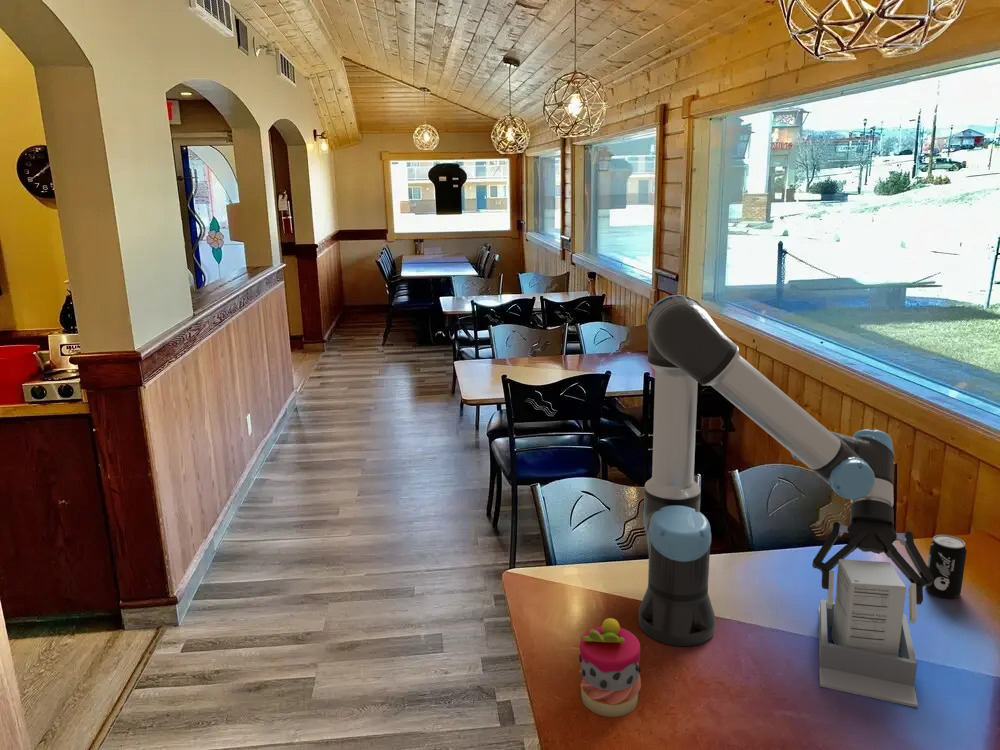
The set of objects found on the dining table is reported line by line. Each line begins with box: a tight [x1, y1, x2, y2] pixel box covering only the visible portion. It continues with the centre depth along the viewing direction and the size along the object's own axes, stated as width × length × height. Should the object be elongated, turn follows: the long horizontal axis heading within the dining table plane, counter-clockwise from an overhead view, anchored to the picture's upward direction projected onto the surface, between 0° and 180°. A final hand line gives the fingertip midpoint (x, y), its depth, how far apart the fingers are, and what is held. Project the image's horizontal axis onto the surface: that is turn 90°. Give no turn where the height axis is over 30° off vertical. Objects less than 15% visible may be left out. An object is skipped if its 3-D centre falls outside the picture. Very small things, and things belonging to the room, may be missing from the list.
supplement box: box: [831, 558, 907, 657], centre depth 131 cm, size 10×9×17 cm
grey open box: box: [817, 599, 919, 709], centre depth 133 cm, size 15×26×5 cm, turn 157°
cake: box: [578, 617, 642, 718], centre depth 122 cm, size 10×11×15 cm
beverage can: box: [925, 534, 968, 599], centre depth 151 cm, size 7×7×12 cm
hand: (870, 614), depth 130 cm, fingers open, 13 cm apart
